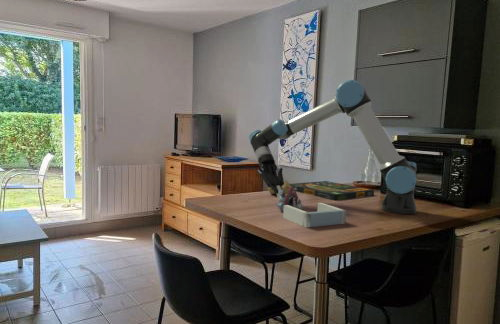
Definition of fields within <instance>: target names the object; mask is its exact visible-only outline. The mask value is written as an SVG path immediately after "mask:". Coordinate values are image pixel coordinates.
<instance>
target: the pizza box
mask: <svg viewBox="0 0 500 324" xmlns="http://www.w3.org/2000/svg"><path fill="white" fill-rule="evenodd" d="M289 184H290V185H291V186H293V187H294V190H295V191H296V193H302V194H305V195H310V196H313V197H319V198H323V199H327V200H331V201H340V200H347V199H356V198H363V197H370V196H371V197H372V196H374V194H375V190H374V189H369V188H365V187H359V186H353V185H349V184H345V183H344V184H343V183H339V182H338V183H337V182H333V181H328V180H323V181H321V180H320V181H310V182H296V183H295V182H294V183H289Z"/></svg>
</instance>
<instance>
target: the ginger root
mask: <svg viewBox="0 0 500 324" xmlns="http://www.w3.org/2000/svg"><path fill="white" fill-rule="evenodd" d="M290 184H291V183H289V182H288V181H286V180H284V185H283V186H282V189H284V193H285V194H287V193H288V191H289V189H290V187H291V185H290ZM267 190H268V192H269V193H270V194H271V195H276V194H275V192H274V190H272V189H271V187H270V188H269V187H268V188H267Z"/></svg>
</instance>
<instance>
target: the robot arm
mask: <svg viewBox="0 0 500 324" xmlns="http://www.w3.org/2000/svg"><path fill="white" fill-rule="evenodd" d="M372 103H373V102H372V100H371V98H370V97H369V95H368V93H367V90H366V88H365V87H364V86H363V85H362V84H361V82H359V81H358V80H355V79H347V80H344V81H343V82H341V83H340V84H339V86H338V87H337V88H336V92H335V95H334V97H333V98H332V99H330V100H328V101H326V102H323V103H321V104H320V105H317V106H315V107H313V108H311V109H309V110H307V111H306V112H303V113H301V114H299V115H297V116H295V117H293V118H291V119H289V120H286V121H285V122H284V120H282V119H280V118H279V119H276V120H275V121H273V122H272V123H271V124H269V126H266V127H265V128H264V129H263V130H260V129H256V130H253V131H252V132H250V134H249V136H248V139H249V141H250V145H251V148H252V150H253V152H254V154H255V157H256V159H257V162H258V166H259V168H258V169H257V173H258V175H260V176H261V178H262V180H263V181H264V183H265V184H266V186H267V187H268V188H270V187H271V189H272V190H274V192H275V194H274V195H276V197H277V199H278V202H280V197H281V195H280V194H279V192H280V191H281V190H283V189H282V186H283V185H284V181H285V180H284V175H283V167H278V166H277V164H276V162H275V161H276V160H275V158H274V156H273V153H272V151H271V149H270V147H269V146H270V145H271V144H272V143H273V142H275V141H276V140H277V141H278V140H286V139H288V138H290V137H291V136H293V135H295V134H297V133H299V132H302V131H303V130H306V129H308V128H311V127H312V126H315V125H317V124H318V123H321V122H323V121H325V120H328V119H329V118H331V117H334V116H337V115H338V114H341V113H342V114H346V116H347V117H350V118H353V120H354V122H355V124H356V125H357V127H358V129H359V131H360V132H361V134H362V135H363V137H364V139H365V140H366V142H367V144H368V146H369V147H370V150H372V153H373V154H374V157H375V158H376V160H377V161H378V164H379V165H380V166H379V169H378V170H379V172H380V174H381V176H382V177H383V179H384V181H385V184H386V194H385V196H384V198H383V200H382V202H381V210H383V211H385V212H388V213H391V214H392V213H393V214H399V215H415V214H417V209H418V208H417V205H416V204H417V203H416V200H415V196H414V195H415V193H414V192H415V187H416V185H417V180H418V179H417V176H416V174H417V163H416V162H414V161H408V160H407V159H406V158H407V157H405V156H403V155H400V154H399V153H398V150H397V149H396V148H395V146H394V144H393V143H392V141H391V138H390V137H389V135H388V134H387V133H386V131H385V129H384V127H383V125H382V124H381V122H380V121H379V119H378V117H377V116H376V114H375V113H374V111H373V109H372Z"/></svg>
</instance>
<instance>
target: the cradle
mask: <svg viewBox="0 0 500 324" xmlns="http://www.w3.org/2000/svg"><path fill="white" fill-rule="evenodd" d="M282 213H283V214H282V218H283V219H285V220H287V221H290V222H292V223H295V224H297V225H298V226H299V225H300V226H302V227H304V228H312V227H313V228H314V227H323V226H324V227H325V226H333V225H343V224H346V223H347V222H346V221H347V210H345V209H342V208H339V207H337V206H333V205H329V204H326V203H324V202H317V210H316V211H310V212H309V211H305V210H300V209H297V208H295V207H292V206H289V205H284V210H283V212H282Z"/></svg>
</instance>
